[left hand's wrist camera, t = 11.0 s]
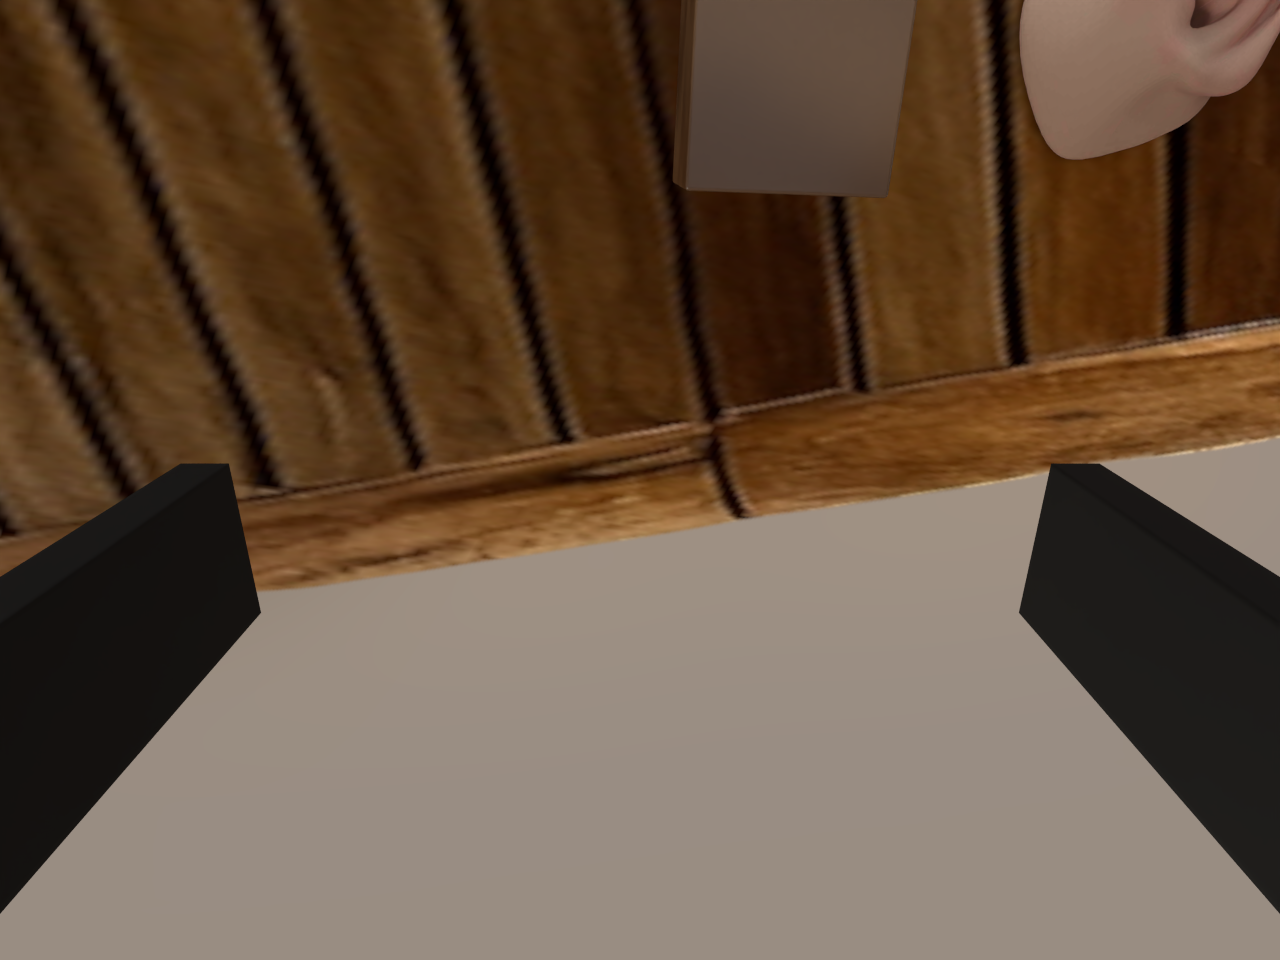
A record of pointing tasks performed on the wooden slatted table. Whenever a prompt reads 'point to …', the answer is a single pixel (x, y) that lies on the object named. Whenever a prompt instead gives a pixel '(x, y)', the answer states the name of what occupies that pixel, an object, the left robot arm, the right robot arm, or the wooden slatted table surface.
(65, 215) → the wooden slatted table surface
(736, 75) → the bar
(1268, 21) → the anatomical model
